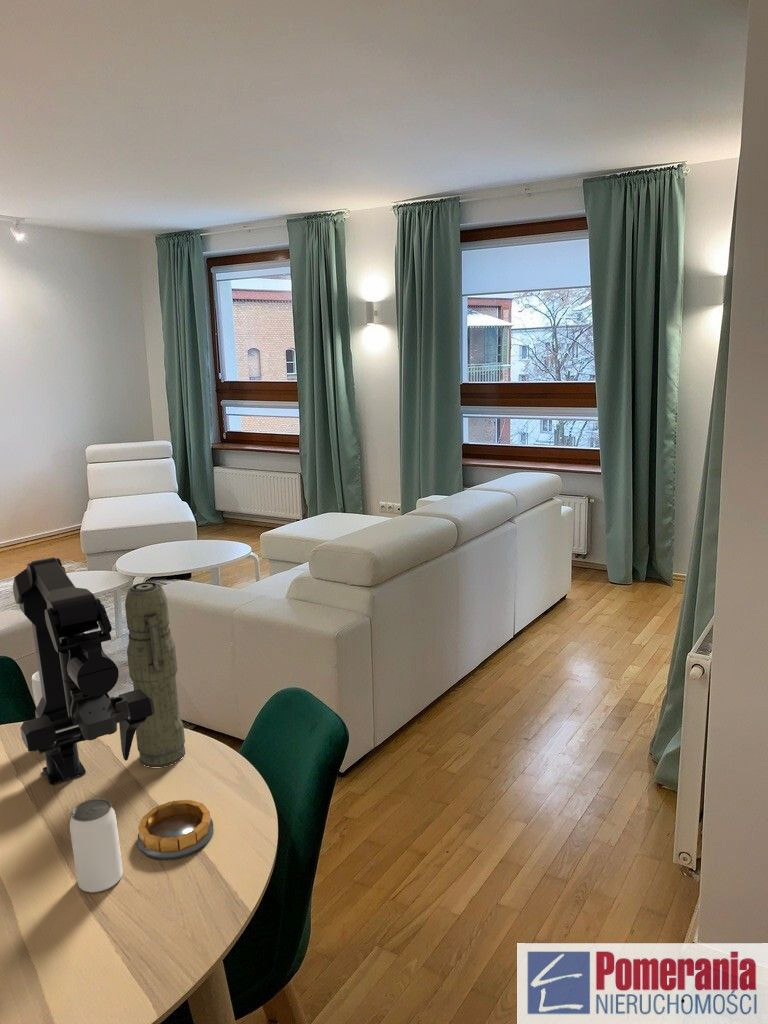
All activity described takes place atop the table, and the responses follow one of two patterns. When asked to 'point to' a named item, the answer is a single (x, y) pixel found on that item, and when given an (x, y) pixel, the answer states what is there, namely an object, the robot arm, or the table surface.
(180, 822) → the ring plate
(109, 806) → the can
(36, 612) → the robot arm
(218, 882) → the table surface
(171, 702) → the thermos
